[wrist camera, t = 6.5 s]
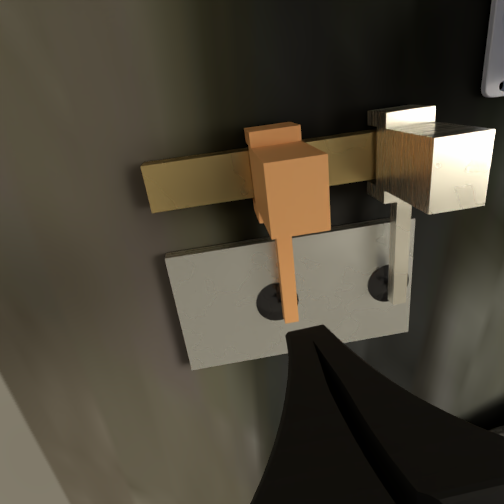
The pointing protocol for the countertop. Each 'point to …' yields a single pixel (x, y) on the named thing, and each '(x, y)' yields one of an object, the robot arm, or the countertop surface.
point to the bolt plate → (269, 297)
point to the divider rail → (356, 173)
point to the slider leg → (288, 195)
